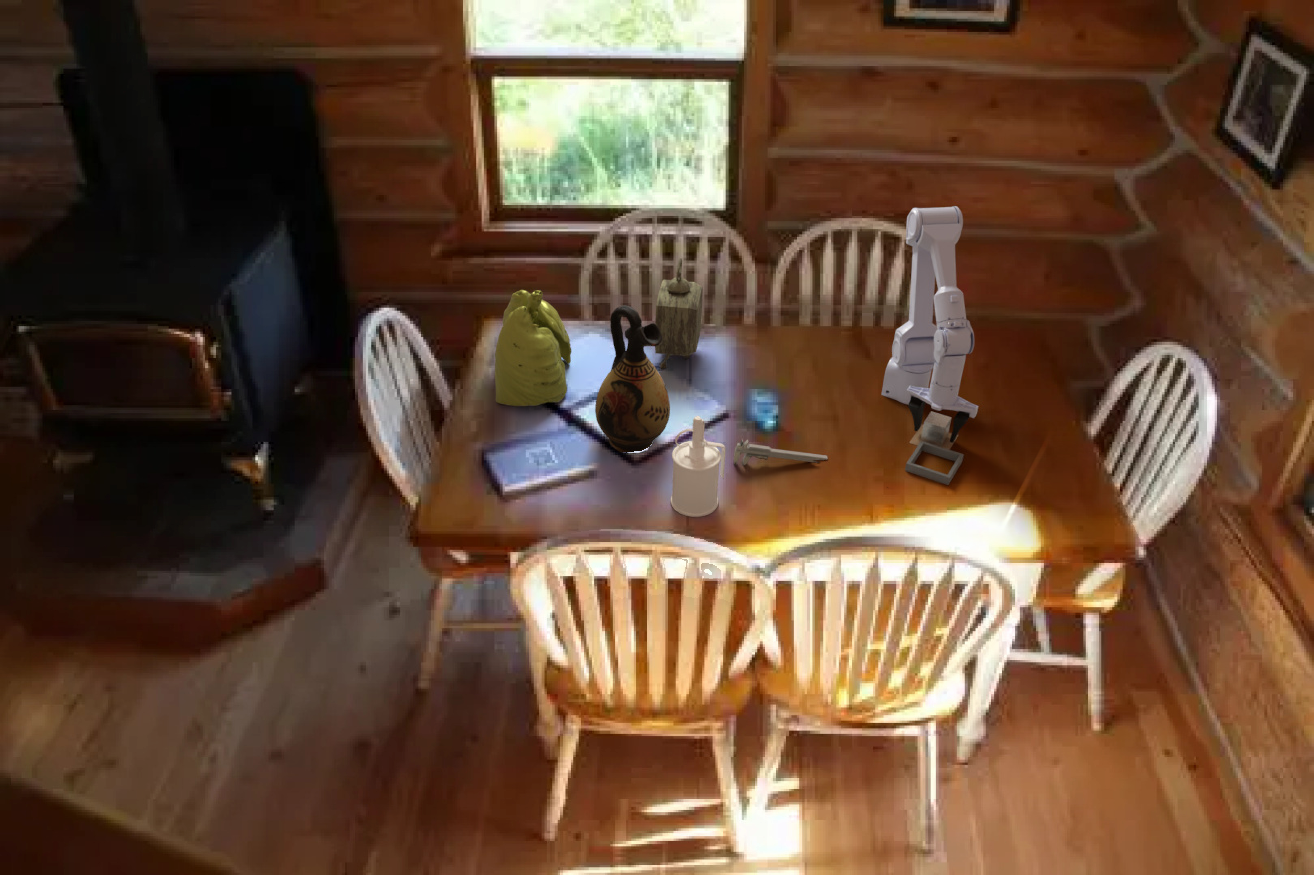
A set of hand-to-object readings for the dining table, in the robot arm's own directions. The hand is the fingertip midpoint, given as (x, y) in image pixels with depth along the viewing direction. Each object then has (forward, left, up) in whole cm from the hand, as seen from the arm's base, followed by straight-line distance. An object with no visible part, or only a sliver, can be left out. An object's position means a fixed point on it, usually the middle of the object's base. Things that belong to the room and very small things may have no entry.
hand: (935, 434), depth 231 cm
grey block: (0, 0, -1) cm, 1 cm away
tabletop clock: (-62, +1, -2) cm, 62 cm away
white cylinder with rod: (-33, -43, -2) cm, 54 cm away
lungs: (-84, -25, -2) cm, 88 cm away
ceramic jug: (-55, -32, -2) cm, 64 cm away
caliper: (-24, -23, -3) cm, 33 cm away
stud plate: (0, 0, -2) cm, 2 cm away
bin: (+3, -9, -2) cm, 10 cm away
